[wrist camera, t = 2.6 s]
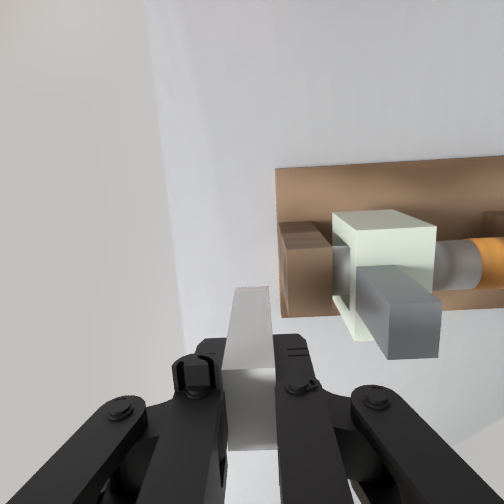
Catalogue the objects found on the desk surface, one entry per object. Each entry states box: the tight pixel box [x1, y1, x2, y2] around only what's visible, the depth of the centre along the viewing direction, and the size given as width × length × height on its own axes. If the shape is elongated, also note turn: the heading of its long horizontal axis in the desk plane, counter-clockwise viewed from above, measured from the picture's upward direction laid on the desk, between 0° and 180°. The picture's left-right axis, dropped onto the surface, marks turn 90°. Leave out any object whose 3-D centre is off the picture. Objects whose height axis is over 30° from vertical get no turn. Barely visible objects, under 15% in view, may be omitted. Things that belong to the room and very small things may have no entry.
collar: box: [332, 209, 443, 360], centre depth 20 cm, size 6×4×11 cm, turn 3°
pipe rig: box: [275, 156, 504, 318], centre depth 25 cm, size 12×18×10 cm, turn 93°
